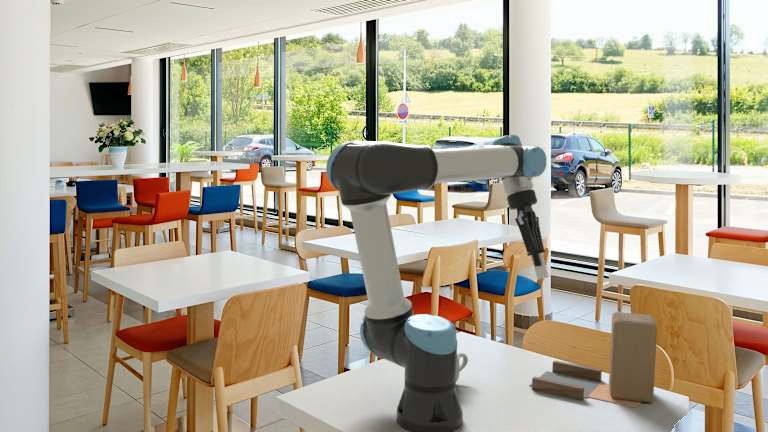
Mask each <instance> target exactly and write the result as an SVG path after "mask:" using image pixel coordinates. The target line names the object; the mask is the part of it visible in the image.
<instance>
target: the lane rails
mask: <svg viewBox="0 0 768 432" xmlns="http://www.w3.org/2000/svg"><path fill="white" fill-rule="evenodd" d="M551 369H552V371H551V372H553V373H558V374H563V375H568V376H573V377H578V378H583V379H588V380H593V381H598V382H601V381H602V374H603V373H602V372H603V369H600V368H596V367H590V366H586V365H580V364H575V363H569V362H565V361H560V360H553V361H552V368H551ZM539 377H540V376H533V377H532V378H531V379H532V382H531V383H532V386H531V390H532V391H537V392H542V393H546V394H550V395H555V396H559V397H564V398H569V399H573V400H578V401H583V400H585V398H584V387H582V386H577V385H572V384H567V383H562V382H558V381H553V380H548V379H543V378H539Z"/></svg>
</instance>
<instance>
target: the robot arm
mask: <svg viewBox="0 0 768 432" xmlns="http://www.w3.org/2000/svg"><path fill="white" fill-rule="evenodd" d="M546 168H547V155H546V152H545V150H544V149H543V148H542V147H540V146H534V145H522V141H521V139H520V137H519V135H517V134H509V135H504V136H500V137H498V138H496V139H494V141H493V142H492V144H489V145H488V144H487V145H485V144H484V145H483V144H482V145H480V144H479V145H477V144H476V145H471V146H469V147H468V146H467V147H464V148H463V147H462V148H461V147H459V148H438V149H433V148H432V147H430V146H429V145H426V144H425V145H424V144H422V145H421V144H419V145H416V144H408V143H407V144H405V143H399V142H391V141H385V140H380V141H379V140H378V141H377V140H375V141H373V140H358V139H357V140H351V141H345V142H342V143H340V144H338V145H337V146H336V147H334V149H333V150H332V151H331V153H330V155H329V156H328V158H327V162H326V167H325V169H326V170H325V173H326V178H327V180H328V182H329V184H330V185H331V186H332V187H333V188H334V189H336V190H338V192H339V198H340V200H341V201H340V202H341V205H342V206H343V207H345V208H346V209H348V210H349V211H350V218H351V221H352V226H353V227H352V228H353V232H354V237H355V242H356V246H357V251H358V256H359V261H360V266H361V271H362V275H363V277H362V278H363V281H364V285H365V291H366V296H367V301H368V302H367V303H368V305H367V306H366V307H365V308H364V316H363V318H362V323H360V327H359V335H360V340H361V342H362V344H363V346H364V348H365V349H366V350H367V351H369V352H370V353H372V354H373V355H374V356H376V357H378V358H380V359H383V360H386V361H389V362H390V363H393V364H395V365H397V366H399V367H402V368H404V388H403V389H402V390H403V391H402V393H401V395H400V399H399V401H398V404H397V408H396V422H397V424H398V425H400V426H401V427H402V428H404V429H405V430H407V431H409V432H453V431H455V430H457V429H459V428H460V427H461V426H462V425H463V423H464V421H463V420H464V417H463V416H464V415H463V409H462V405H461V403H460V398H459V395H458V392H457V388H456V386H457V382H456V359H457V354H458V351H457V350H458V340H457V329H456V326H455V325H454V324H453V323H452V322H451V321H450V320H449V319H446V318H445V317H442V316H438V315H432V314H428V313H425V314H424V313H422V314H421V313H420V314H414V309H413V304H412V302H411V300H410V299H408V298H407V297H405V295H404V291H403V284H402V281H401V280H402V279H401V274H400V269H399V264H398V258H397V253H396V247H395V242H394V237H393V232H392V227H391V222H390V221H391V220H390V217H389V215H390V214H389V212H388V211H389V210H388V206H387V203H388V201H389V200H390V198H391V196H392V195H394V194H400V193H405V192H413V191H418V190H427V189H430V188H432V187H434V185H435V184H443V183H445V184H446V183H447V184H448V183H455V182H457V183H458V182H469V181H480V180H490V179H491V180H492V179H493V180H494V179H501V181H502V186H503V190H504V193H505V195H507V196H506V201H507V204H508V208H509V209H510V210H514V211H515V210H516V214H517V215H516V217H515V222H516V224H517V227H518V229H519V232H520V235H521V237H522V241H523V244H524V247H525V249H526V254H527V256H528V257H529V256H531V260H532V264H533V268H534V272H535V275H536V280H543V279H546V278H550V277H549V272H548V268H547V265H546V261H545V257H544V254H543V253H545V252H546V249H545V247H544V243H543V239H542V238H543V237H542V233H541V227H540V221H539V217H538V216H537V215H536V213H535V211H534V210H533V207H532V206H534V205H536V204H537V202H538V200H537V199H538V198H537V195H536V192H535V190H534V189H533V188H534V185H533V181H532V180H533V179H534V178H537V177H540V176H541V175H542V174H543V173H544V172H545V170H546Z"/></svg>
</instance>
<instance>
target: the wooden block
mask: <svg viewBox="0 0 768 432" xmlns="http://www.w3.org/2000/svg"><path fill="white" fill-rule="evenodd" d="M610 332H611V334H610V335H611V336H610V355H609V356H610V358H609V374H608V375H609V376H608V385H609V387H610V395H611V397H612V398H614V399H623V400H632V401H641V402H642V403H652V402H653V400H654V391H655V390H654V389H655V388H654V387H655V375H656V373H655V372H656V371H655V370H656V353H657V337H658V336H657V335H658V327H657V323H656V321H655V318H654V316H653V315H651V314H646V313H645V314H644V313H630V312H629V313H628V312H618V311H617V312H614V313H612V316H611V331H610Z"/></svg>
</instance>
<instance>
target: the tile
mask: <svg viewBox="0 0 768 432" xmlns="http://www.w3.org/2000/svg"><path fill="white" fill-rule="evenodd" d="M587 398H589V399H595V400H598V401H599V400H600V401H603V402H607V403H613V404H616V405H622V406H627V407H631V408H636V409H638V408H639V407H640V406H641V404H642V403H643V402H641V401H632V400H623V399H614V398H612V397H611V395H610V387H609V384H606V383H602V382H601V383H600V384H599V385H598V386H597V387H596V388H595V389H594V390H593V391H592V392H591V394H590V395H589V396H588V397H587Z"/></svg>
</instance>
